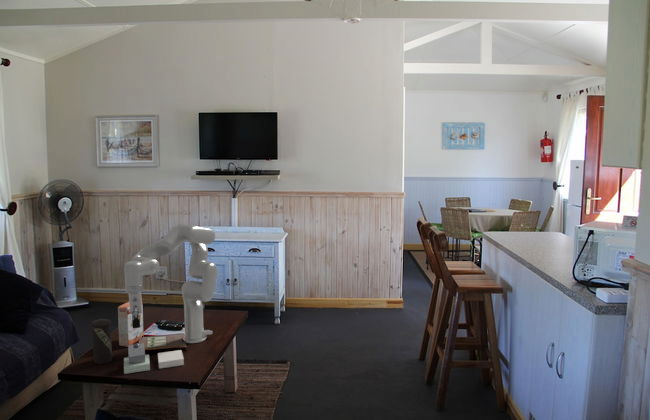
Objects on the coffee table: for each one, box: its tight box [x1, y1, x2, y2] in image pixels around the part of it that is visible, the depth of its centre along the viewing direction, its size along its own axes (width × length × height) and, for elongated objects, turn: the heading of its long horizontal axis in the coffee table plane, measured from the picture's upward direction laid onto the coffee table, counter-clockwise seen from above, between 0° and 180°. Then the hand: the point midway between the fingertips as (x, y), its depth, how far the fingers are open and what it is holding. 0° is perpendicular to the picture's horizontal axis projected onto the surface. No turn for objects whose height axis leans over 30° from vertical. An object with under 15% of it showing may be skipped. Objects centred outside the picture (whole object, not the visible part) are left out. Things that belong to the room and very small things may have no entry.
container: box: [90, 318, 113, 365], centre depth 237 cm, size 9×9×20 cm
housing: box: [127, 342, 146, 364], centre depth 231 cm, size 7×6×8 cm
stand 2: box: [157, 349, 185, 369], centre depth 237 cm, size 11×11×3 cm
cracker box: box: [117, 301, 144, 347], centre depth 260 cm, size 14×6×21 cm, turn 168°
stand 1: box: [123, 354, 151, 375], centre depth 231 cm, size 11×11×3 cm
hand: (136, 324), depth 230 cm, fingers open, 9 cm apart
